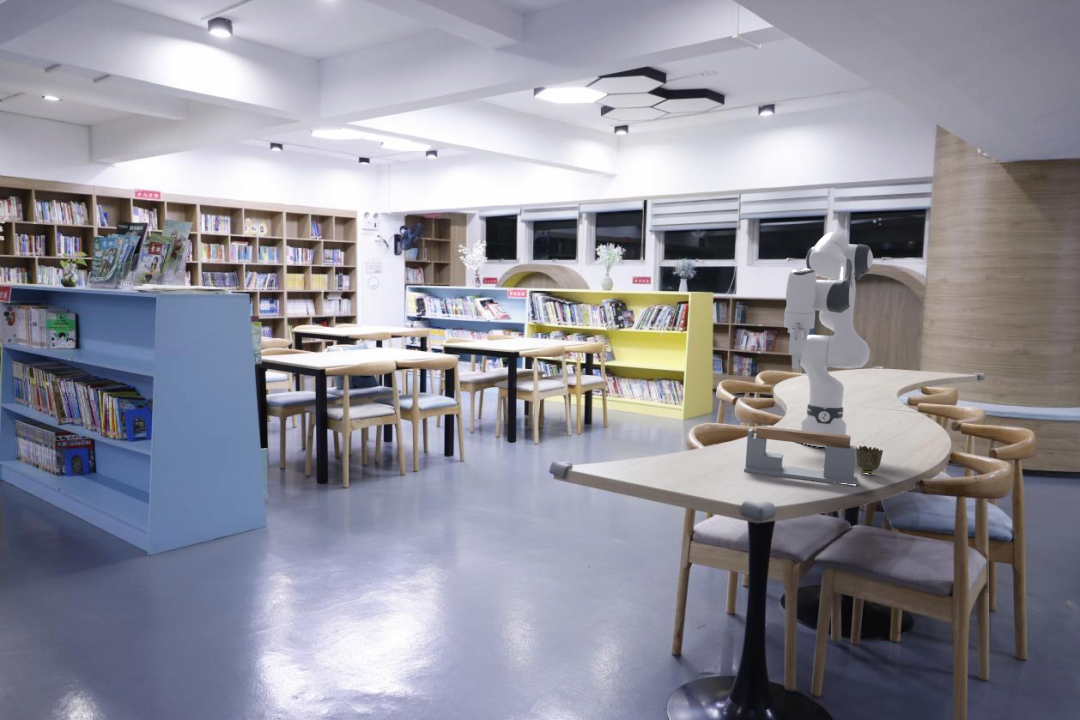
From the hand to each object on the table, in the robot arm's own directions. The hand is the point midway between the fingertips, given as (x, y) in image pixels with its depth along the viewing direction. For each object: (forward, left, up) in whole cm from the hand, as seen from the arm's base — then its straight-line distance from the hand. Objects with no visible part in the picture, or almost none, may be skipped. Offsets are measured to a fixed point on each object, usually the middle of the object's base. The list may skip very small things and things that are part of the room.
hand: (796, 366), depth 228 cm
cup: (-1, +23, -31) cm, 39 cm away
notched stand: (+11, +4, -31) cm, 33 cm away
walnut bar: (+11, +2, -25) cm, 27 cm away
